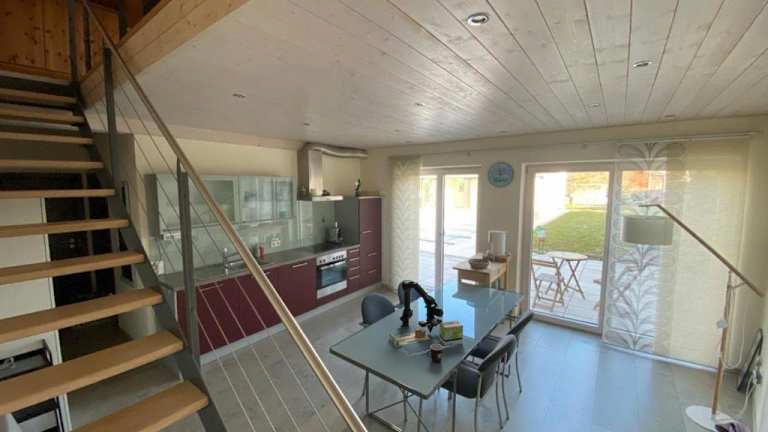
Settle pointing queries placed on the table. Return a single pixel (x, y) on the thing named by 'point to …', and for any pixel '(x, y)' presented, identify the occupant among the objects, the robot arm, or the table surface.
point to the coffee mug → (436, 352)
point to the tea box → (451, 333)
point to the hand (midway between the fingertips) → (430, 332)
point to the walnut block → (420, 332)
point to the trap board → (406, 339)
